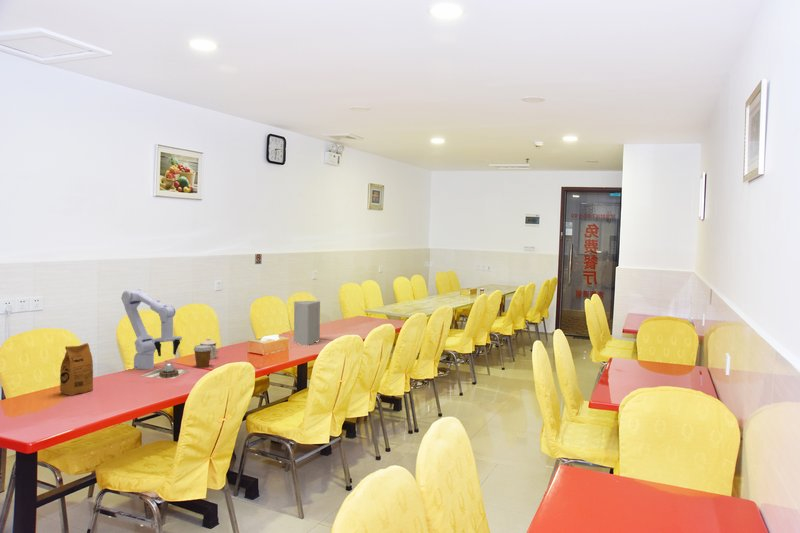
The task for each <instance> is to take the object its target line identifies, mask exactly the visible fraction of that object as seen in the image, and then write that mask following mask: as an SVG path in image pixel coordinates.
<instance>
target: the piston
mask: <svg viewBox="0 0 800 533" xmlns="http://www.w3.org/2000/svg"><path fill="white" fill-rule="evenodd" d="M174 367H175V366H174V363H173V362H167V363H164V364H163V369H164V373H173V372H174Z"/></svg>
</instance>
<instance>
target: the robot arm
mask: <svg viewBox="0 0 800 533" xmlns="http://www.w3.org/2000/svg"><path fill="white" fill-rule="evenodd" d="M120 299H121V301H122V303H123V306H124V310H125V313H126V315H127V317H128V320H129V322H130V324H131V326H132V329H133V331H134V333H135V336H136V340H135V341H134V346H135V350H136V352H137V353H135V354H134V356H133V369H134V370H135V369H136V370H137V369H138V370H152V369H154V367H155V362H154V361H155V355H154V354H155V353H156V351H157V355H158V357H161V356H162V354H161V353H162V352H161V348H162V344H161V343H166V342H168V343H169V342H172V346H173V348H172V352H173V353H172V354H173V355H175V356H176V355H177V352H178V351H177V350H178V347H179V345H180V344H181V341H183V340H182V336H174V331H173V330H174V317H175V315H176V309H175V308H174V307H173V305H172V306H171V305H169V306H168V305H167V304H164V303H163V302H161V299H155V300H154V299H153V298H151V297H150V296H149V295H148V294H146V293H145V291H143V290H141V289H139V288H138V289H132V290H124V291H123V293H122V294H121V297H120ZM142 303H144V304H146V305H147V306H149V309H151V310H152V311H153V312H155V313H157V314H158V317H159V320H160V324H161V325H160V327H161V330H160V332H161V334H160V337H157V338H154V336H152V335H150V334H148V332H147V330H146V327H145V325H144V323H143V320H142V318H141V316H140V313H139V310H138V307H139V306H140V304H142Z"/></svg>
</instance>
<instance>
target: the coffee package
mask: <svg viewBox="0 0 800 533" xmlns="http://www.w3.org/2000/svg"><path fill="white" fill-rule="evenodd" d="M64 349H65V351H66V352H65V354H64V358H63V359H62V363H61V364H60V370H59V373H60V375H59V376H60V377H59V381H60V382H59V391H60V393H61V394H64V395H66V396H75V395H77V394H85V393H89V392H91V391H93V390H94V362H93V361H94V360H93V356H92V352H91V349H90V344H89V343H88V342H86V343H83V344H81V345H69V346H68V345H67V346H65V347H64Z"/></svg>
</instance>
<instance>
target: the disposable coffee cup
mask: <svg viewBox="0 0 800 533" xmlns="http://www.w3.org/2000/svg"><path fill="white" fill-rule="evenodd" d="M211 349H212V348H211V346H210V345H200V344H199V345H195V346H194V348H193V352H194V358H195V365H196V368H209V366H210V361H211V359H210V354H211Z"/></svg>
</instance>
